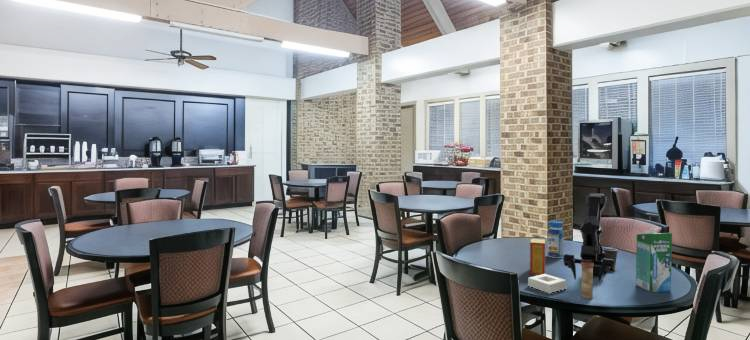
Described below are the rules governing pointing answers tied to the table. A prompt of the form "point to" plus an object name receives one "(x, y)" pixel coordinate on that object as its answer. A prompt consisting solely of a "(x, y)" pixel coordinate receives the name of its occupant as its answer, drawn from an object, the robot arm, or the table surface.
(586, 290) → the tan cylindrical container
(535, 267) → the baking soda box
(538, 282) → the socket
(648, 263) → the milk carton
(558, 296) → the table surface
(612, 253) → the coffee cup
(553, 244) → the beverage bottle
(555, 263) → the table surface
